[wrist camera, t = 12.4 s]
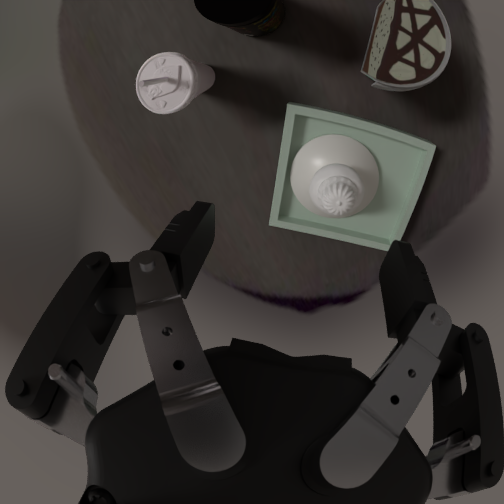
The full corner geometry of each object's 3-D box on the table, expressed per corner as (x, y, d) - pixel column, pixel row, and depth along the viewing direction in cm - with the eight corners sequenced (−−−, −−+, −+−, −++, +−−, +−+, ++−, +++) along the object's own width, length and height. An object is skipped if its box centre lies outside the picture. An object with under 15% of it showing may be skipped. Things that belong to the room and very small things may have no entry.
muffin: (360, 154, 29) (370, 176, 23) (359, 201, 32) (367, 231, 27) (307, 154, 30) (306, 176, 25) (311, 201, 34) (309, 231, 29)
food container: (404, 102, 25) (438, 116, 17) (357, 82, 25) (375, 87, 17) (426, 19, 17) (465, 7, 9) (379, -3, 17) (403, -27, 10)
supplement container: (293, -3, 20) (284, -33, 12) (277, 43, 24) (261, 31, 16) (236, -14, 20) (205, -42, 12) (221, 31, 24) (184, 19, 16)
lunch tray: (289, 101, 29) (287, 103, 27) (428, 140, 27) (436, 145, 25) (271, 215, 39) (268, 225, 37) (391, 242, 37) (394, 252, 35)
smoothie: (236, 78, 28) (188, 86, 17) (199, 111, 31) (138, 140, 20) (203, 44, 26) (138, 37, 15) (168, 78, 29) (96, 93, 18)
